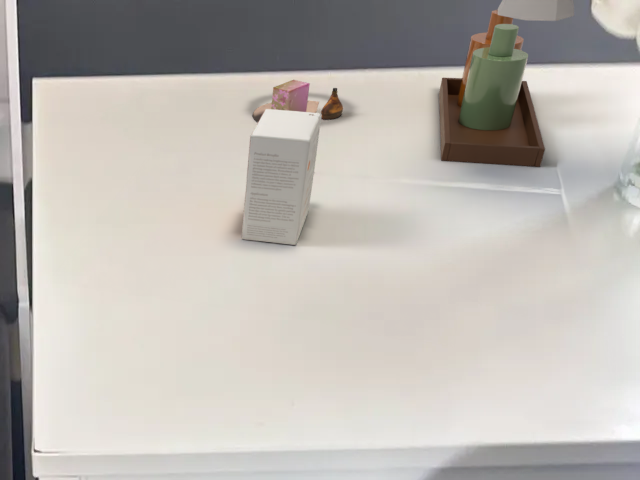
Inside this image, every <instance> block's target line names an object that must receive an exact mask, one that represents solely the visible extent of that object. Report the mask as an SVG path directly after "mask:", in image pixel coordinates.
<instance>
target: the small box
mask: <svg viewBox="0 0 640 480" xmlns="http://www.w3.org/2000/svg"><path fill="white" fill-rule="evenodd" d="M321 122H322V114H321V112H316V113H312V112H300V111H287V110H275V109H265V111H264V113H263V114H262V116H261V118H260V120H259V122H256V124H255V125H256V126H255V127H254V129H253V131H252V132H251V134H250V135H249V147H248V159H247V168H246V169H247V170H246V182H245V183H246V184H245V193H244V203H243V219H242V228H241V239H242V240H246V241H255V242H256V241H257V242H267V243H274V244H283V245H292V246H296V245H298V241H299V238H300V236H301V233H302V230H303V227H304V225H305V222H306V219H307V216H308V215H309V211H310V202H311V197H312V190H313V183H314V182H313V181H314V175H315V167H316V161H317V152H318V146H319V137H320V132H321V131H320V130H321V124H322V123H321Z"/></svg>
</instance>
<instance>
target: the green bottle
mask: <svg viewBox="0 0 640 480" xmlns="http://www.w3.org/2000/svg"><path fill="white" fill-rule="evenodd" d="M519 29H520V26H518V25H516V24H513V23H512V24H498V25H495V27H494V31H493V36H492V40H491V45H490V47H486V48H480V49H477V50H475V51H474V52H473V55H472V59H471V64H470V68H469V73H468V78H467V82H466V87H465V91H464V96H463V100H462V105H461V109H460V114H459V119H458V122H459V123H460V124H461V125H463V126H465V127H468V128H472V129H477V130H502V129H506V128H508V127H510V125H511V123H512V119H513V115H514V111H515V107H516V103H517V99H518V95H519V91H520V87H521V83H522V81H523V79H524V74H525V71H526V67H527V63H528V58H529V53H527V52H526V51H524V50H522V49H521V50H518V49H514V47H515V42H516V38H517V36H518V34H519Z"/></svg>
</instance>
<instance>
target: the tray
mask: <svg viewBox="0 0 640 480" xmlns="http://www.w3.org/2000/svg"><path fill="white" fill-rule="evenodd" d="M461 81H462V77H441V81H440V87H439V92H438V104H439V133H440V136H439V139H440V160H441V162H453V163H468V164H481V165H482V164H483V165H484V164H485V165H499V166H516V167H529V168H540V167H541V165H542V162H543V158H544V154H545V151H546V146H545V143H544V139H543V137H542V132H541V129H540V125H539V122H538V118H537V114H536V110H535V107H534V102H533V99H532V96H531V92H530V88H529V85H528V81H527V80H522V83H521V87H520V91H519V95H518V99H517V103H516V107H515V111H514V115H513V119H512V123H511V125H510V127H508V128H506V129H502V130H477V129H472V128H468V127H465V126H463V125H461V124H460V123H459V122H458V119H459V114H460V109H461V107H460V106H458V105H457V99H458V95H459V90H460V86H461Z"/></svg>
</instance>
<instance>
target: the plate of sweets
mask: <svg viewBox="0 0 640 480" xmlns="http://www.w3.org/2000/svg"><path fill="white" fill-rule="evenodd" d="M310 85H311V83H310V82H307V81H301V80H297V79H292V80H289V81H286V82H284V83H281V84H278V85H275V86H273V88H272V97H271V102H269V103H265V104H262V105H260V106H258V107H257V108H255V109H254V111H253V112H252V115H251V116H252V118H253V120H254V121H255V122H256V123H258V122H259V120H260V118H261V116H262V114H263V113H264V111H265V109H275V110H287V111H300V112H312V113H318V112H317V111H318V109H319V104H320V101H318V100H317V101H316V100H309V91H310ZM343 111H344V106H343V103H342V102H341V100H340V98H339V95H338V88H337V87H333V88H332V91H331V94H330V97H329V98H328V100H327V102H326V103H325V104H324V105H323V107H322V109H321V111H320V113H321V114H322V117H321V120H322V119H323V120H334V119H338V118H339V117H340V116H341V115H342V114H343Z"/></svg>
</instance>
